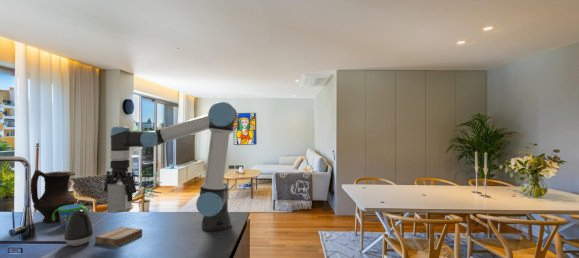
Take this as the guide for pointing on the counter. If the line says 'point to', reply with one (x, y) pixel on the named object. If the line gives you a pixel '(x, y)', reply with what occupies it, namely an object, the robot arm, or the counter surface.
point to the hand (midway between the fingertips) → (119, 207)
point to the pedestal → (118, 236)
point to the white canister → (116, 198)
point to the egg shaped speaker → (78, 228)
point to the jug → (52, 194)
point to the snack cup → (67, 212)
